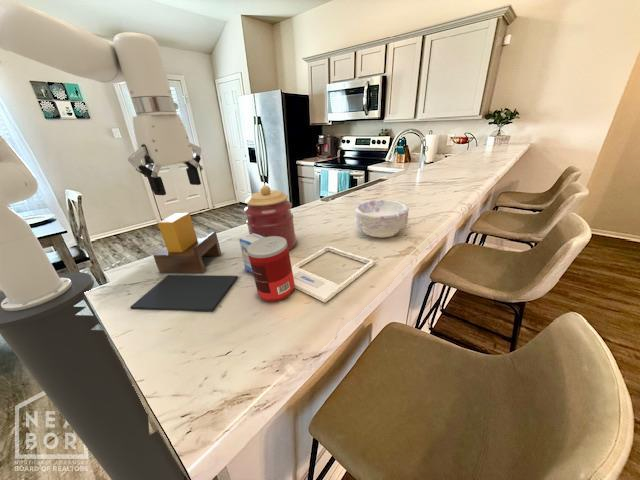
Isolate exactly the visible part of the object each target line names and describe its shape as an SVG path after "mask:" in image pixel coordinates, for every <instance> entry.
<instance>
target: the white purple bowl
mask: <svg viewBox="0 0 640 480" xmlns="http://www.w3.org/2000/svg"><path fill="white" fill-rule="evenodd" d="M408 219H409V207H408V206H407V205H406V204H404V203H403V202H400V201H396V200H391V199H390V200H389V199H373V200H368V201H363V202H361V203H359V204H358V205H356V206H355V208H354V220H355V225H356V227H357V228H359V229H361V230H362V231H363V232H364V234H366V235H367V236H370V237H372V238H378V239H383V238H384V239H385V238H390V237H393V236H395V235H397V234H398V233H399V231H400V230H403V229H404V228H405V227H406V226H407V225H408Z"/></svg>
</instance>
